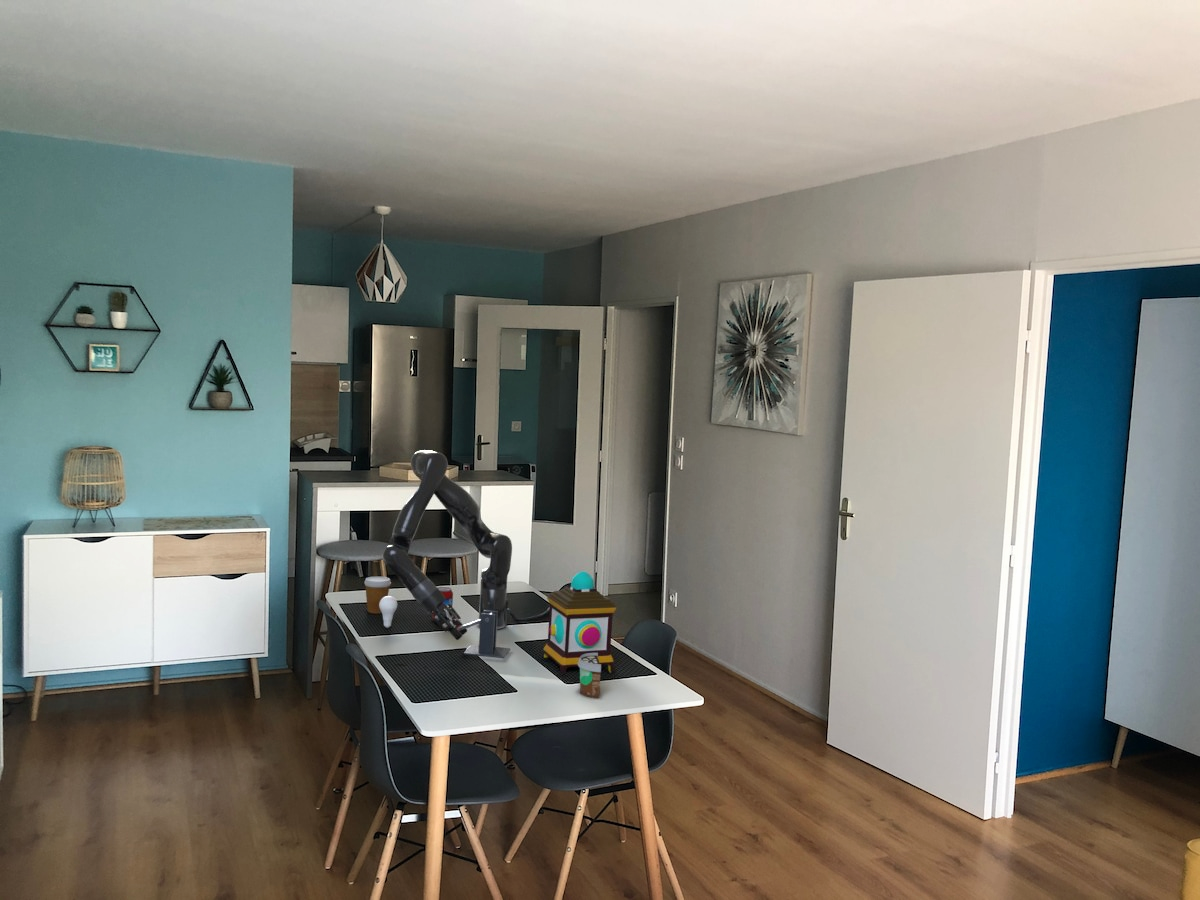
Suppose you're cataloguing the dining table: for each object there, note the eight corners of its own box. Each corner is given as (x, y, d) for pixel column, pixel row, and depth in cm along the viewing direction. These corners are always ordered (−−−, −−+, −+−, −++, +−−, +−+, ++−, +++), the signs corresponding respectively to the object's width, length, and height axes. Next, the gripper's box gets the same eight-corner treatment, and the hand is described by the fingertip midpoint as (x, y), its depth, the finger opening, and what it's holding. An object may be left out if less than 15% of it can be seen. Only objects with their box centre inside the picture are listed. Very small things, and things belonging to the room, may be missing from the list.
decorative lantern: (536, 658, 298) (542, 565, 296) (594, 655, 306) (599, 564, 304) (559, 678, 280) (564, 579, 277) (619, 674, 287) (625, 577, 285)
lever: (454, 635, 296) (452, 628, 296) (459, 631, 302) (456, 624, 302) (492, 622, 295) (489, 615, 295) (496, 617, 300) (493, 610, 300)
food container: (574, 684, 275) (576, 651, 274) (595, 685, 275) (597, 652, 275) (577, 699, 263) (579, 664, 262) (599, 700, 263) (601, 665, 262)
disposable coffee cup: (376, 616, 337) (377, 583, 336) (357, 611, 342) (358, 578, 341) (395, 611, 345) (396, 579, 344) (376, 606, 350) (378, 575, 349)
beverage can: (447, 625, 331) (449, 591, 330) (429, 623, 332) (431, 589, 331) (454, 620, 337) (456, 587, 336) (436, 618, 339) (438, 585, 338)
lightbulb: (399, 626, 325) (401, 595, 324) (390, 630, 319) (391, 599, 318) (384, 624, 327) (385, 593, 326) (374, 628, 321) (376, 596, 320)
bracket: (462, 657, 294) (465, 614, 293) (470, 648, 304) (473, 606, 303) (503, 661, 293) (506, 618, 292) (510, 652, 303) (512, 610, 302)
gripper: (430, 592, 292) (465, 634, 291) (442, 583, 306) (476, 622, 306) (412, 608, 293) (448, 649, 292) (426, 597, 307) (459, 637, 306)
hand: (462, 635), depth 299 cm, fingers open, 5 cm apart
